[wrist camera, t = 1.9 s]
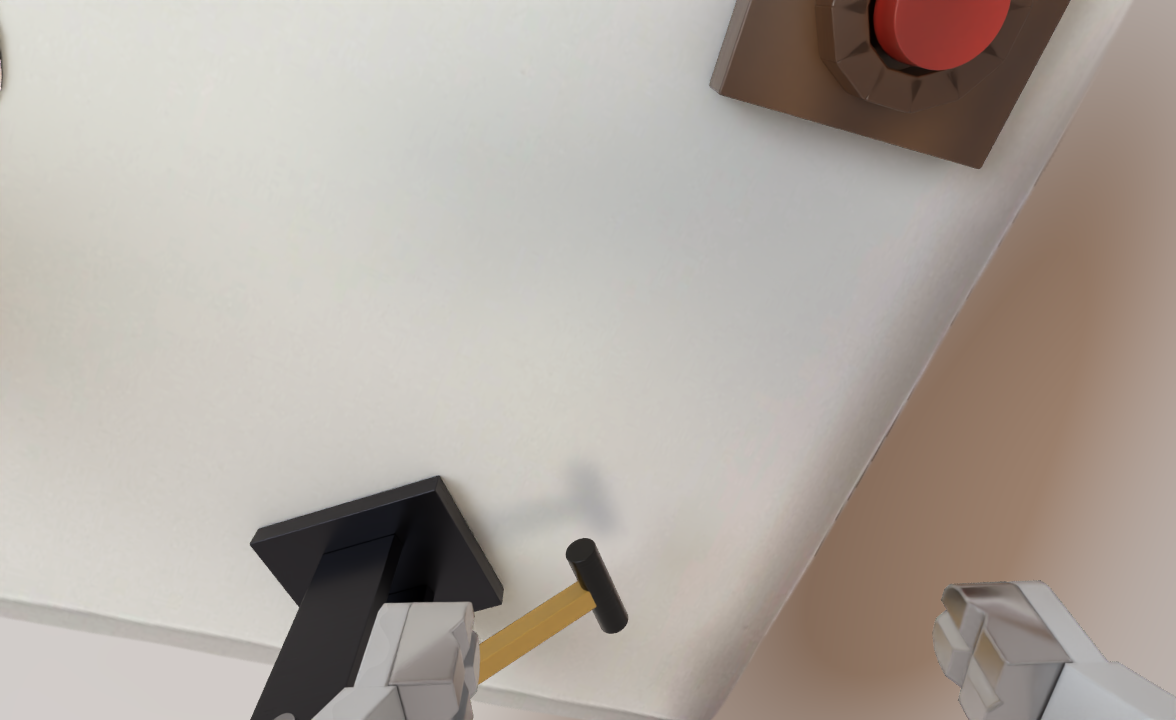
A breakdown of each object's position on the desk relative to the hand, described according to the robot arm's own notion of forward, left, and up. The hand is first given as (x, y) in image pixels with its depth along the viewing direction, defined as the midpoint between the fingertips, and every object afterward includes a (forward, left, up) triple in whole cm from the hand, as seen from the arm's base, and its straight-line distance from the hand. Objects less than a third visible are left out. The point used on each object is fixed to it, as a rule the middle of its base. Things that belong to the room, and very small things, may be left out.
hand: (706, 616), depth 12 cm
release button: (+3, -13, -17) cm, 22 cm away
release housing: (+3, -13, -21) cm, 25 cm away
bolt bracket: (-10, +21, -21) cm, 31 cm away
